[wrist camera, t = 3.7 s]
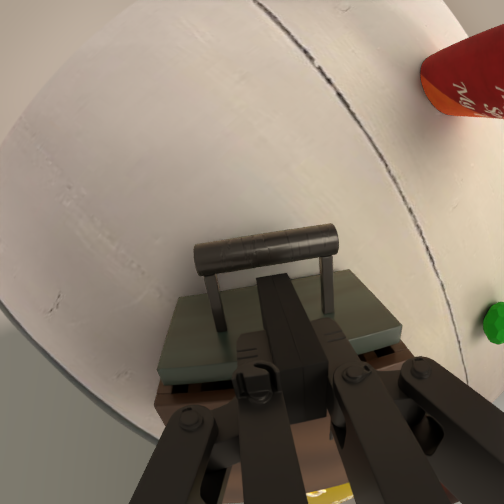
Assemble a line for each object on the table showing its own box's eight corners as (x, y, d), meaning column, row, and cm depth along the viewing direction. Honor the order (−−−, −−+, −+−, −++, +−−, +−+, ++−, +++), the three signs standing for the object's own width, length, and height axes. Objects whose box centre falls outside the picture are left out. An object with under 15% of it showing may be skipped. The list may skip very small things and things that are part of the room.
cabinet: (178, 311, 22) (153, 405, 12) (352, 282, 22) (415, 356, 13) (217, 425, 27) (218, 504, 17) (345, 403, 27) (375, 474, 18)
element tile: (310, 494, 36) (315, 515, 31) (256, 476, 31) (259, 503, 27) (387, 456, 33) (397, 477, 29) (349, 431, 29) (361, 460, 24)
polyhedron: (492, 290, 24) (518, 308, 20) (505, 301, 25) (528, 318, 21) (471, 326, 26) (494, 347, 21) (485, 334, 27) (507, 354, 22)
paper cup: (419, 126, 18) (571, 131, 5) (400, 39, 16) (526, -16, 3) (478, 128, 18) (600, 142, 5) (462, 52, 16) (574, 31, 3)
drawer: (161, 229, 19) (121, 277, 11) (346, 201, 19) (410, 231, 11) (217, 416, 25) (217, 483, 17) (344, 393, 25) (371, 454, 18)
